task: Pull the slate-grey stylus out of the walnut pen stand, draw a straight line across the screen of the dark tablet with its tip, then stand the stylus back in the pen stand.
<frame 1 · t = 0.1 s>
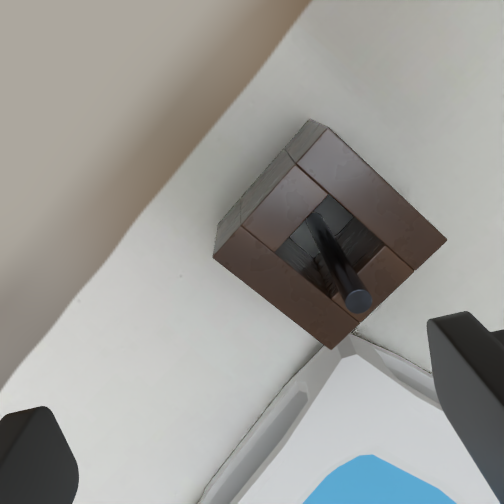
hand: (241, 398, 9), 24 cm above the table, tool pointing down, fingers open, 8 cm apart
pen stand: (312, 216, 33), on the table
stylus: (329, 248, 27), in the pen stand
document scanner: (338, 484, 42), on the table
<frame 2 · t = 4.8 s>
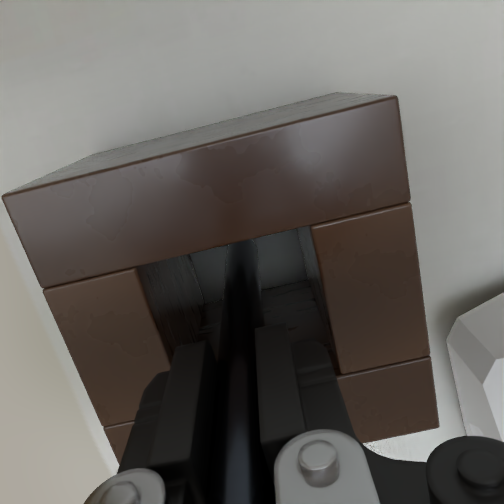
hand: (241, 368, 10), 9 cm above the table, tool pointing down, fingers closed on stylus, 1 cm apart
pen stand: (243, 242, 19), on the table
stylus: (242, 325, 12), in the pen stand, touching gripper
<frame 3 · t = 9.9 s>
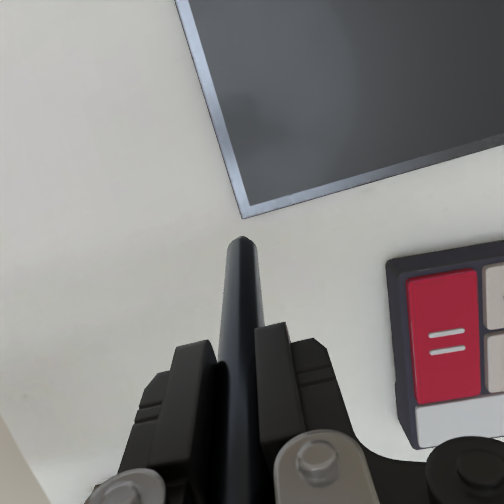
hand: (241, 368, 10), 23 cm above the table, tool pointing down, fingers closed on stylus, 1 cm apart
tablet: (397, 19, 29), on the table
stylus: (242, 326, 12), point 21 cm above the table, touching gripper
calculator: (458, 332, 37), on the table
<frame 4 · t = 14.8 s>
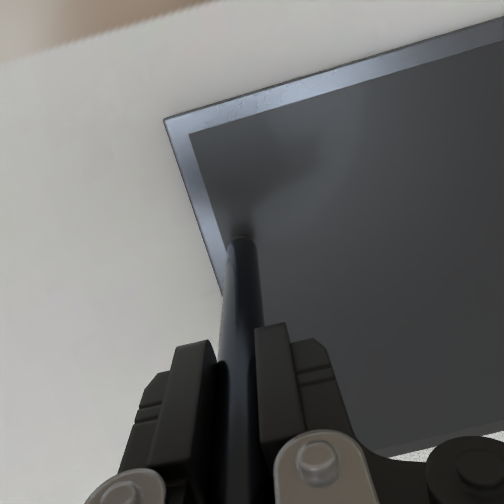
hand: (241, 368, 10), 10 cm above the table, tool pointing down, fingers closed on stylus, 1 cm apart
stylus: (242, 325, 12), point 8 cm above the table, touching gripper
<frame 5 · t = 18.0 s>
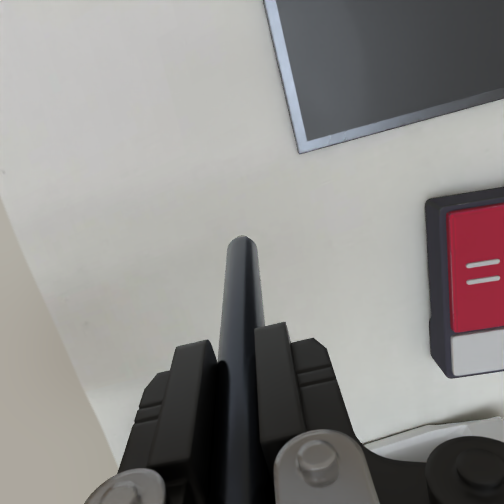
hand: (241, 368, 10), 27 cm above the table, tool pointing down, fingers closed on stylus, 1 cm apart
stylus: (242, 325, 12), point 25 cm above the table, touching gripper
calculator: (490, 271, 39), on the table
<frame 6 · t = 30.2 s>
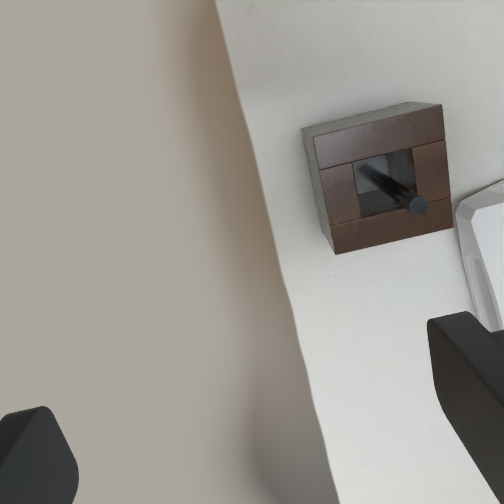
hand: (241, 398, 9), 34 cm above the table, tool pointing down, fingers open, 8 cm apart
pen stand: (363, 168, 42), on the table
stylus: (386, 184, 36), in the pen stand
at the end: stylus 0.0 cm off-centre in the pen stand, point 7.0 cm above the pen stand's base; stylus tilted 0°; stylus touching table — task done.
